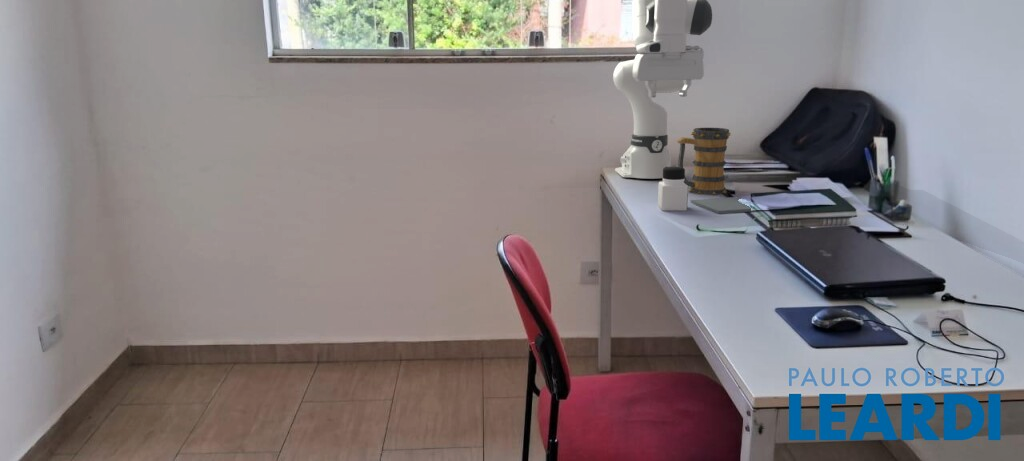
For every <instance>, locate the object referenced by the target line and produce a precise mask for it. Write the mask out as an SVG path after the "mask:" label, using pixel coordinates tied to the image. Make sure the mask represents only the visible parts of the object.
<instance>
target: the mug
mask: <svg viewBox="0 0 1024 461" xmlns="http://www.w3.org/2000/svg"><path fill="white" fill-rule="evenodd" d="M690 135H691V136H692V137H685V136H684V137H683V136H682V137H680V138H679V139H677V140H676V142H677V144H680V145H679V146H680V147H679V154H678V159H677V160H678V162H677V166H680V167H683V168H684V158H685V157H684V156H685V150H686V144H688V145H693V150H694V154H695V155H694V156H695V157H694V160H693V161H692V164H693V165H694V172H693V175H692V181H691V180H690V181H689V180H687V177H686V176H685V177H684V183H685V184H686V185H687V186H688V187H689V189H688V193H689V192H690V193H694V194H697V195H712V196H713V195H714V196H715V195H720V194H722V195H724V194H727V193H726V192H727V190H726V189H727V188H726V187H725V181H726V176H725V174H724V172H725V171H724V170H725V167H724V166H726V165H727V162H726V160H725V157H726V156H725V155H726V154H725V153H726V152H727V148H728V146H727V141H728V139H729V138H730V136H731V135H732V133H731V132H730V129H728V128H723V127H722V128H721V127H697V128H693V131H692V133H690Z"/></svg>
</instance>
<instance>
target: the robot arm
mask: <svg viewBox="0 0 1024 461" xmlns="http://www.w3.org/2000/svg"><path fill="white" fill-rule="evenodd" d="M631 5H632V6H631V8H632V9H631V26H632V27H631V28H632V41H633V42H632V43H633V44H634V47H636V48H635V49H636V53H637V54H636V55H635V57H634V59H631V60H630V59H629V60H624V61H620V62H619V63H618V64H617V65H616V66H615V68H614V70H613V75H612V80H613V83H614V86H615V88H616V89H617V90H618V91H619V92H621V93H622V94H623V95H624V96H625V97H626V99H627V100H628V102H629V103H630V107H631V110H632V114H633V115H632V116H633V117H632V118H633V134H632V135H631V138H630V146H629V147H628V148H627V150H626V151H625V152H624V153H623V154H622V156H620V158H619V162H620V163H621V166H620V167H615V170H614V171H615V172H616V173H618V175H620V176H621V177H623V178H633V179H634V178H635V179H649V180H651V179H652V180H654V179H663V168H664V167H667V166H672V159H671V150H670V149H668V147H667V146H668V141H669V137H668V134H667V132H668V131H667V129H668V112H667V111H666V109H665V108H664V107H663V106H662V105H659V104H658V103H656V102H654V101H653V100H652V98H656V97H657V94H660V93H661V94H667V93H669V94H671V93H675V92H679V94H678V95H679V97H682V98H683V97H684V98H685V97H687V96H688V90H689V89H690V87H691V85H692V81H693V80H696V81H697V80H702V79H703V77H704V76H705V72H704V71H705V67H704V66H705V65H704V55H705V54H704V53H705V52H704V49H703V48H702V47H700V45H694V46H693V45H687V35H692V36H701V35H703V34H704V33H705V32H706V31H707V30H708V29H709V28H710V27H711V25H712V21H713V10H712V6H711V4H710V2H709V1H708V0H632V4H631Z"/></svg>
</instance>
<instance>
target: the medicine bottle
mask: <svg viewBox="0 0 1024 461" xmlns="http://www.w3.org/2000/svg"><path fill="white" fill-rule="evenodd" d="M685 173H686V169H685V168H684V166H683V167H680V166H678V165H671V166H667V167H664V168H663V178H662V181H659V182H658V188H657V189H658V190H657V191H658V193H657V206H658V208H660V210H661V211H663V212H665V211H666V212H669V211H671V212H673V211H674V212H675V211H679V212H680V211H681V212H683V211H685V212H686V211H688V198H689V196H688V195H689V186H687V185H686V184H685V183H684V177H685V178H686V174H685Z"/></svg>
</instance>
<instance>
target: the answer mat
mask: <svg viewBox="0 0 1024 461" xmlns="http://www.w3.org/2000/svg"><path fill="white" fill-rule="evenodd" d="M741 198H742V197H741V196H734V197H718V198H717V197H716V198H703V199H702V198H701V199H690V204H693V205H695V206H697V207H699V208H702V209H705V210H707V211H709V212H712V213H715V214H717V215H718V214H719V215H721V214H722V215H723V214H734V213H737V214H738V213H750V212H752V211H751V208H750V207H749V206H747V205H745V204H742V203H740V202H739V201H738V200H739V199H741Z"/></svg>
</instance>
